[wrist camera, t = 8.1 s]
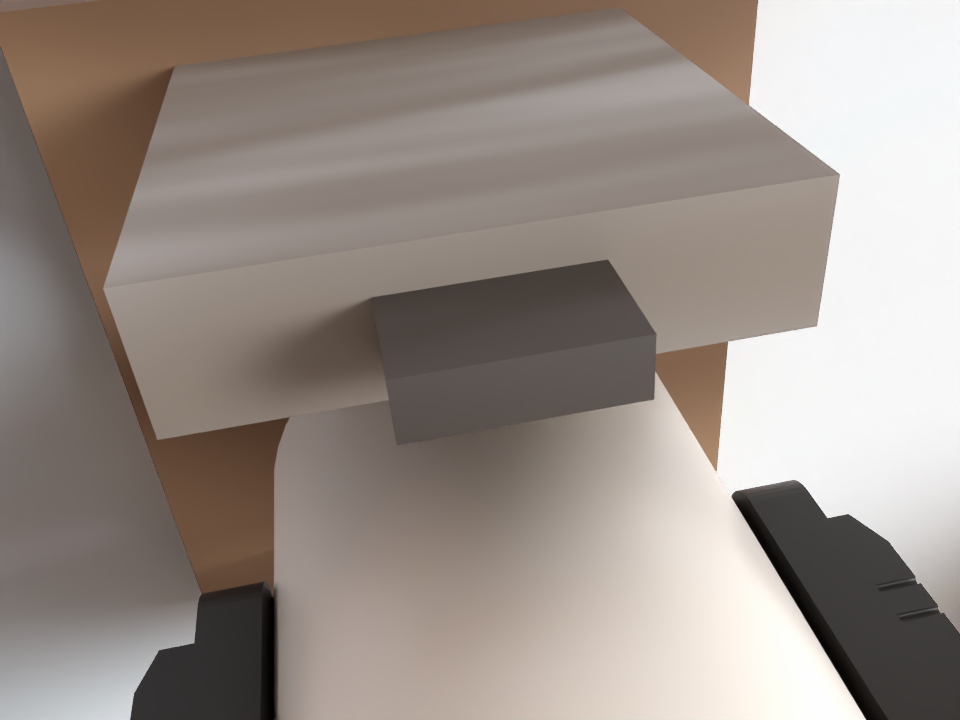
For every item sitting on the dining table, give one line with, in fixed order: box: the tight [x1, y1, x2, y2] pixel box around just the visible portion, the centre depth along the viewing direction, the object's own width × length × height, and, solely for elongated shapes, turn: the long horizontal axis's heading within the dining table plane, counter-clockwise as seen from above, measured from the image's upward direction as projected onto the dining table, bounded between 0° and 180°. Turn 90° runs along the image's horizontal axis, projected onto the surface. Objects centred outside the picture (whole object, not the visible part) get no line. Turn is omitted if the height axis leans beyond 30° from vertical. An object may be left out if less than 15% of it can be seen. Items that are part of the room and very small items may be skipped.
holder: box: [0, 0, 840, 597], centre depth 13 cm, size 12×10×9 cm
